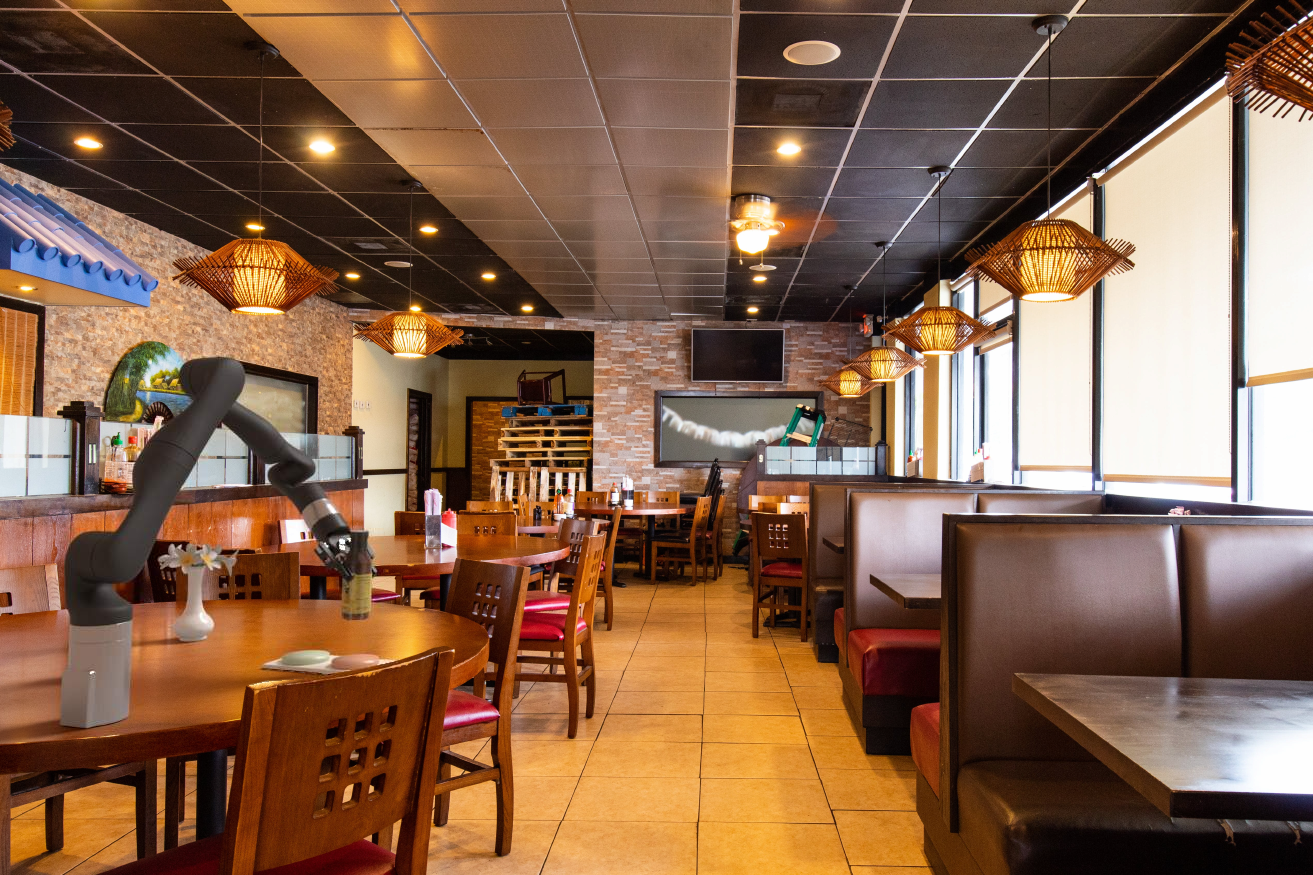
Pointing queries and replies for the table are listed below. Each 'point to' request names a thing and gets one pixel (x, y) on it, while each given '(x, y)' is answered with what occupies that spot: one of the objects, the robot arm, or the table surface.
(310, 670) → the tray
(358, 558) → the sauce bottle
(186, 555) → the flower vase
